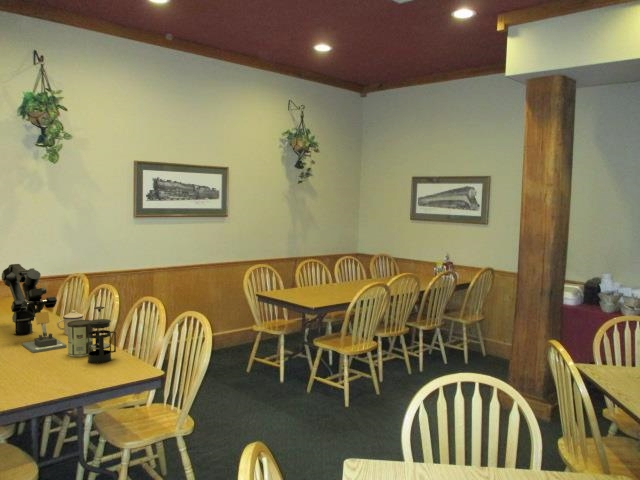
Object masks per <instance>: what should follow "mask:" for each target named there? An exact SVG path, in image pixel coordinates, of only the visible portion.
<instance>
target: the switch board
mask: <svg viewBox="0 0 640 480" xmlns="http://www.w3.org/2000/svg"><path fill="white" fill-rule="evenodd" d="M21 346H22V347H23V348H25V349H27V350H28V351H29V352H31V353H33V354H35V353H43V352H47V351H52V350H59V349H60V350H61V349H66V348H67V344H66V343H64V342H62V341H60V340H58V339H57V338H56V337H54V336H53V333H50V332H49V333H48V335H47V336H44V337H43V334H38V337H34V341H25V342H21Z"/></svg>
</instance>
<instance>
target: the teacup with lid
mask: <svg viewBox="0 0 640 480" xmlns="http://www.w3.org/2000/svg"><path fill="white" fill-rule="evenodd" d="M75 320H84V315H83V314H82V313H79V312H77V311H76V310H74V309H72V310H71V311H70V312H68V313H67V314H65V315H63V319H61V320H59V321H57V323H56V326H57V328H58V329H59V331H61V330H62V331H63V333H64V335H66V336H68V325H67V323H68V322H71V321H75ZM61 322H62V323H63V328H62V327H60V323H61Z"/></svg>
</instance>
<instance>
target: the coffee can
mask: <svg viewBox="0 0 640 480" xmlns="http://www.w3.org/2000/svg"><path fill="white" fill-rule="evenodd" d="M91 320H92V319H91ZM91 320H90V319H83V320H75V321H71V322H68V323H67V325H68V335H67V355H68V356H69V357H72V358H73V357H74V358H75V357H76V358H79V357H81V358H82V357H86V356H87V357H88V333H89V332H92V331H94V330H93V329H94V328H93V327H92V326H91V325H90V324H88V321H91ZM92 335H94V334H92ZM93 340H94V338H89V346H90V345H92V344H94V343H93V342H94V341H93ZM91 351H94V350H93V349H90V348H89V352H91Z"/></svg>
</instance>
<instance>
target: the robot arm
mask: <svg viewBox="0 0 640 480" xmlns="http://www.w3.org/2000/svg"><path fill="white" fill-rule="evenodd" d="M41 276H42V275H41V273H40V271H38V270H37V269H35V268H29V269H26V268H24V267H23V266H22V265H21V264H20V263H14V264H8V267H6V268H5V269H4V270H2V273H1V281H2V282H3V284H4V285H5V286H7V287H8V288H9V289H10V293H11V295H12V298H13V301H12V303H11V307H10V309H11V312H12V323H14V324H15V332H14V333H13V335H15V336H16V335H17V336H19V335H24V336H25V335H26V336H27V335H28V336H29V334H31V333H33V332H34V331H33V323H32V322H33V321H34V320H35V318H36V317H35V314H36V313H40V312H42V310H43V309H44V308H46V309H52V308H56V307H55V306H56V305H57V301H58V300H57V296H48V297H46V299H45V300H42V299H43V296H44V295H46V294H47V293H48V291H47V288H46V286H41V287H40V288H37V285H38V284H39V281H40V278H41ZM21 283H22V285H21Z"/></svg>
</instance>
